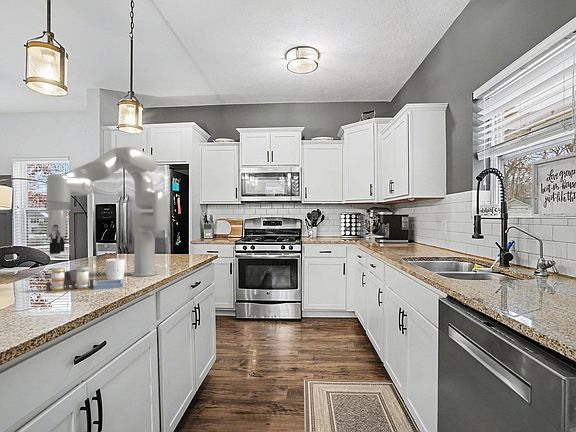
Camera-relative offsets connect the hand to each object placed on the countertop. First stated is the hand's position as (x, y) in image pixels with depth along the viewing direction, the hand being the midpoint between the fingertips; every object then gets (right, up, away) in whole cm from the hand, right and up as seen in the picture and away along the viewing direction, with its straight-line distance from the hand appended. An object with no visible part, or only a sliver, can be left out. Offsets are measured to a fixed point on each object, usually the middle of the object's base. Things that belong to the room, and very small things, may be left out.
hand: (57, 252), depth 129 cm
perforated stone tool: (-3, -16, +16) cm, 23 cm away
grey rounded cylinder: (+7, -14, +4) cm, 16 cm away
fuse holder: (+4, -16, +2) cm, 16 cm away
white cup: (+9, -16, +26) cm, 31 cm away
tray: (+15, -16, +8) cm, 23 cm away
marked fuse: (0, -14, 0) cm, 14 cm away
